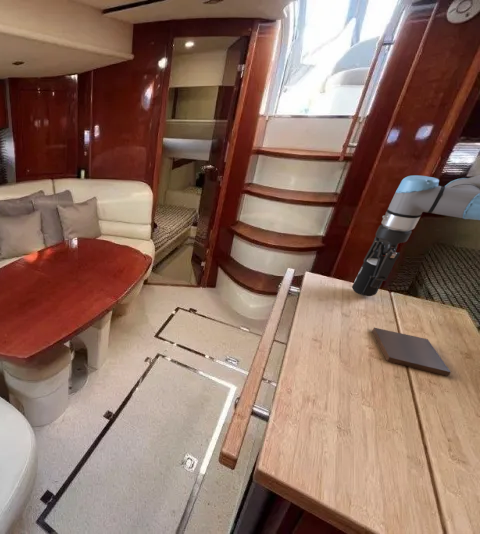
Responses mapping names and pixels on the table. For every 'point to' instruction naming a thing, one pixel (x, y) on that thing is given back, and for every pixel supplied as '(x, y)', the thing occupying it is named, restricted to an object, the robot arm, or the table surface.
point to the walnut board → (410, 351)
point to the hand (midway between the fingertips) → (364, 288)
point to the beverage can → (365, 276)
